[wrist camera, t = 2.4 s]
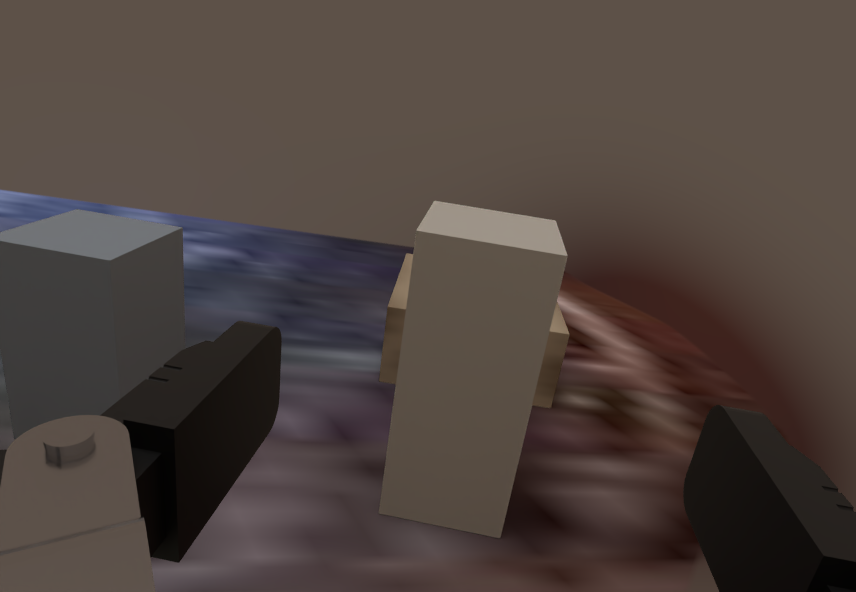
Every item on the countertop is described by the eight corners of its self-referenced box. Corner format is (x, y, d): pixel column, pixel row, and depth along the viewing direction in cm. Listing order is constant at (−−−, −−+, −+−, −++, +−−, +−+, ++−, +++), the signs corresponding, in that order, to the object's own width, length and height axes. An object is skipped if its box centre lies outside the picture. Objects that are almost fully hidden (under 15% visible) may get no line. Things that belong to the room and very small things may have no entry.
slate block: (14, 438, 24) (-18, 237, 21) (93, 381, 29) (77, 209, 26) (124, 461, 24) (109, 260, 21) (186, 399, 29) (182, 227, 25)
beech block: (378, 385, 33) (387, 306, 31) (398, 317, 42) (406, 253, 41) (549, 412, 33) (569, 334, 31) (532, 337, 42) (546, 274, 40)
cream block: (378, 513, 23) (416, 230, 19) (400, 441, 28) (434, 200, 24) (500, 538, 23) (567, 256, 19) (501, 461, 28) (555, 220, 23)
